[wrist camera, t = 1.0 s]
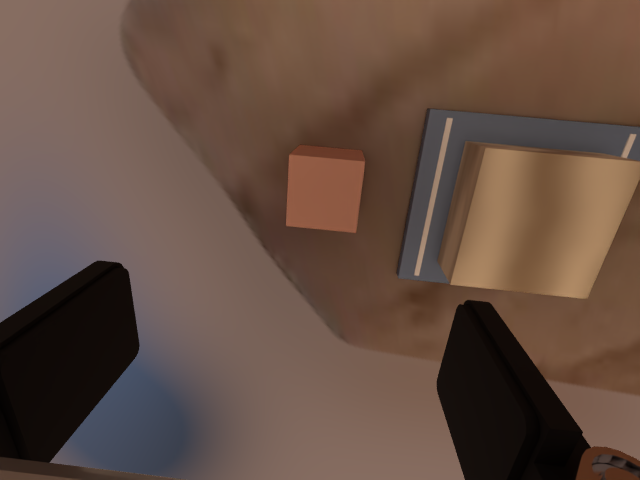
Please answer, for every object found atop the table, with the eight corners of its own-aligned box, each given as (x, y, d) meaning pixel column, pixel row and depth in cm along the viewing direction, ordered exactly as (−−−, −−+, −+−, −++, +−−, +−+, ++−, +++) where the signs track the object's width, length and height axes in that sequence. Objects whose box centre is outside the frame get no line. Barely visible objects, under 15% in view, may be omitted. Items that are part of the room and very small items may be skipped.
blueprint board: (646, 127, 25) (658, 128, 24) (576, 291, 31) (584, 298, 30) (427, 108, 26) (430, 108, 25) (396, 272, 31) (398, 278, 30)
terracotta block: (361, 150, 27) (365, 161, 22) (354, 209, 29) (356, 232, 24) (299, 144, 28) (289, 154, 22) (296, 204, 29) (286, 225, 24)
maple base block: (602, 153, 25) (647, 162, 21) (556, 273, 29) (586, 298, 25) (465, 140, 26) (485, 147, 22) (437, 261, 29) (450, 284, 26)
